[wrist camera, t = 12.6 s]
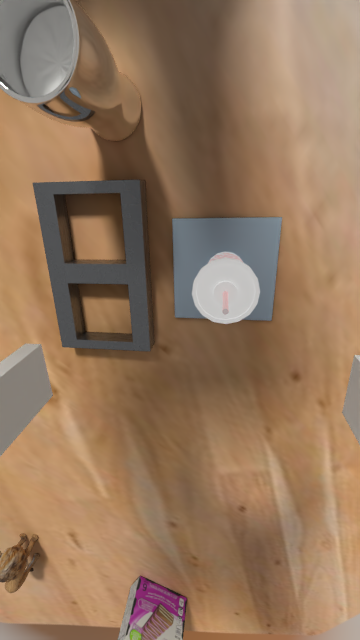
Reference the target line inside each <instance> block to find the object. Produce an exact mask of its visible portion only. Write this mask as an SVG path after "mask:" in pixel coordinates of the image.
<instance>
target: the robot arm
mask: <svg viewBox="0 0 360 640" xmlns="http://www.w3.org/2000/svg"><path fill="white" fill-rule="evenodd" d="M52 396H53V394H52V390H51V385H50V381H49V377H48V372H47V368H46V364H45V359H44V355H43V351H42V346H41V344H24V345H23V346H22V347H20V348H19V349H18V350H16V351H15V352H14V353H12V354H11V355H9V356H8V357H7V358H5V359H4V360H3V361H1V362H0V456H1V455H2V454H3V453H4V452H5V450H6V449H7V448H8V447H9V446H10V445H11V443H12V442H13V441H14V440H15V439H16V438H17V436H18V435H19V434H20V433H21V432H22V431H23V429H24V428H25V427H26V426H27V425H28V424H29V423H30V421H31V420H32V419H33V418H34V417H35V416H36V414H37V413H38V412H39V411H40V410H41V409H42V407H43V406H44V405H45V404H46V403H47V402H48V400H49V399H50V398H51V397H52ZM342 413H343V415H344V417H345V419H346V421H347V422H348V424H349V426H350V428H351V430H352V432H353V433H354V435H355V437H356V439H357V441H358V443H359V444H360V355H354V359H353V364H352V369H351V374H350V378H349V383H348V388H347V393H346V397H345V402H344V407H343V412H342Z"/></svg>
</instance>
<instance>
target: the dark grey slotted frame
mask: <svg viewBox="0 0 360 640" xmlns="http://www.w3.org/2000/svg"><path fill="white" fill-rule="evenodd" d="M33 187H34V193H35V198H36V204H37V209H38V215H39V220H40V226H41V231H42V237H43V242H44V248H45V253H46V259H47V264H48V270H49V275H50V281H51V286H52V292H53V297H54V303H55V308H56V314H57V319H58V325H59V330H60V336H61V341H62V347H71V348H92V349H113V350H133V351H151V349H152V347H153V345H154V325H153V307H152V289H151V271H150V253H149V235H148V217H147V199H146V181H143V180H110V181H77V182H44V183H33ZM112 193H120V195H121V207H122V219H123V230H124V242H125V254H126V260H74V254H73V248H72V241H71V234H70V227H69V221H68V214H67V207H66V200H65V195H70V194H112ZM78 283H84V284H128V289H129V301H130V313H131V325H132V334H123V333H99V332H85V329H84V322H83V315H82V308H81V302H80V295H79V288H78Z"/></svg>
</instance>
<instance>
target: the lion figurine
mask: <svg viewBox="0 0 360 640" xmlns="http://www.w3.org/2000/svg"><path fill="white" fill-rule="evenodd" d="M20 537H21V540H20V541H19V543H18V544H17V545H15V546H13V547H12V548H7V549H6V550H5V551H4V552H3V554H2V553H1V551H0V582H6V584H5V589H6V590H7V591H8V592H9V593H14V592H16V591H17V590H18V589H19V588H20V587H21V586H22V584H23V583H24V581H25V579H26V577H27V575H28V573H29V572H30V571H33V568H31V567H32V566H33V564H34V563H35V561H36V560H37V559H38V558H39V556H40V555H39V554H34V557H33V559H32V561H31V562H30V564H29V566H28V567H27V568H26V561H27V558H28V556H29V554H30V552H31V550H32V548H33V545H34V543H35V541H36V540H37V539H38V536H37V535H33V536H32V538H31V540H30V543H29V545H28V547H27V548H26V550H24V549H23V547H22V546H21V545H22V544H23V543H24V542H25V540H26V534H24V533H23V534H21V535H20ZM25 568H26V569H25Z"/></svg>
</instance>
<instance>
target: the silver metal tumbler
mask: <svg viewBox="0 0 360 640" xmlns="http://www.w3.org/2000/svg"><path fill="white" fill-rule="evenodd" d="M0 88H1V89H2V90H3V91H4V92H5V93H7V94H8V95H9V96H11V97H13V98H14V99H17V100H19V101H20V102H22V103H23V104H25V105H26V106H28V107H30V108H31V109H33V110H34V111H36V112H38V113H40V114H42V115H43V116H45V117H47V118H49V119H51V120H54V121H56V122H59V123H62V124H65V125H69V126H74V127H83V128H91V129H92V130H93V131H94V132H95V133H96V134H97V135H99V136H100V137H102V138H104V139H106V140H109V141H119V140H123V139H125V138H127V137H128V136H130V135H131V134H132V133H133V132H134V130H135V129H136V127H137V125H138V123H139V120H140V116H141V100H140V96H139V93H138V90H137V88H136V86H135V85H134V83H133V82H132V81H131V80H130V79H129V78H128V77H127V76H126V75H124V74H123V73H121V72H119V70H118V68H117V65H116V62H115V60H114V57H113V55H112V53H111V50H110V48H109V46H108V44H107V42H106V40H105V38H104V37H103V35H102V34H101V32H100V31H99V29H98V28H97V26H96V25H95V23H94V22H93V20H92V19H91V18H90V17H89V15H88V14H87V13H86V12H85V11H84V9H83V8H82V7H81V6H80V5H79V4H78V3H77V2H76V0H0Z"/></svg>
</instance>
